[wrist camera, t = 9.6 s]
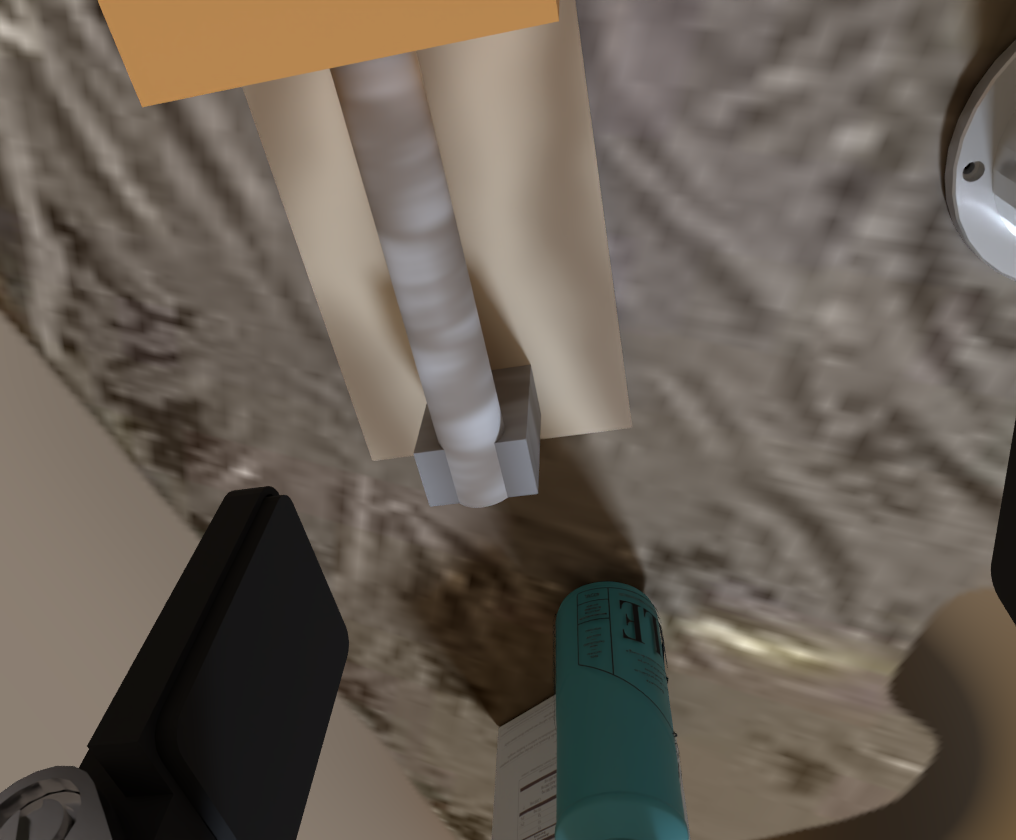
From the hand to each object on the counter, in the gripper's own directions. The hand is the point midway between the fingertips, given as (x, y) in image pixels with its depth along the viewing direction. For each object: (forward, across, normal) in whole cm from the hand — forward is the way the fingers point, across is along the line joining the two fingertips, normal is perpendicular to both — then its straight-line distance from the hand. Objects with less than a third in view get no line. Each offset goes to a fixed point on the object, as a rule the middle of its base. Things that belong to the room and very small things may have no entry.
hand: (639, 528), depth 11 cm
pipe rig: (+28, +7, +2) cm, 29 cm away
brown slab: (+25, +7, -6) cm, 27 cm away
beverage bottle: (+28, +3, +30) cm, 41 cm away
